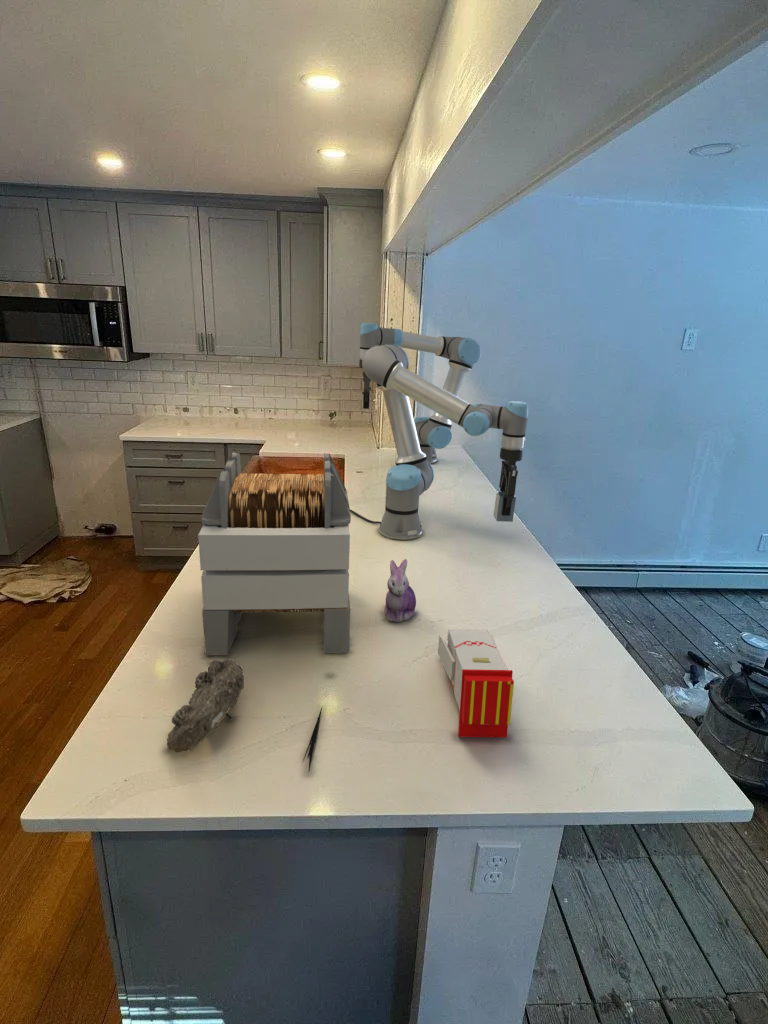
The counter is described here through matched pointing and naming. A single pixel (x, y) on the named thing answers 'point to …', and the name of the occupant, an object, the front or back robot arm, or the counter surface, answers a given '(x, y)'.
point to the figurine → (399, 594)
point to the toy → (478, 682)
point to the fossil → (206, 705)
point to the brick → (499, 507)
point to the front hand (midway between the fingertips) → (503, 512)
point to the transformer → (275, 551)
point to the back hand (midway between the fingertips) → (366, 406)
